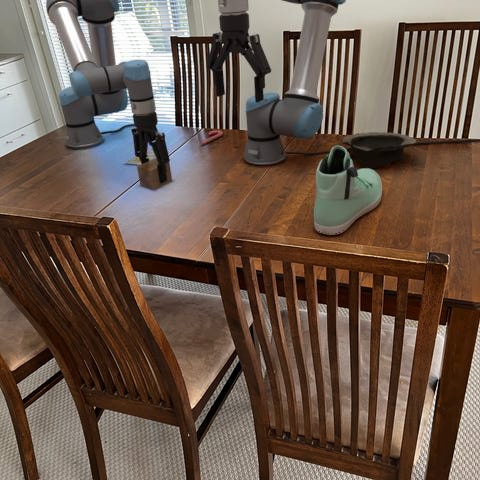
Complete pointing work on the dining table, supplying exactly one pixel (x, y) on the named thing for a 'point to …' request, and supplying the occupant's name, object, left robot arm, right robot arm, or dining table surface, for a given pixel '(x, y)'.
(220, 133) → the candy cane
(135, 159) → the baking ingredient package
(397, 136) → the black hat
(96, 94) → the left robot arm
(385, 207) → the dining table surface
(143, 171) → the block
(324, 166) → the sneaker
